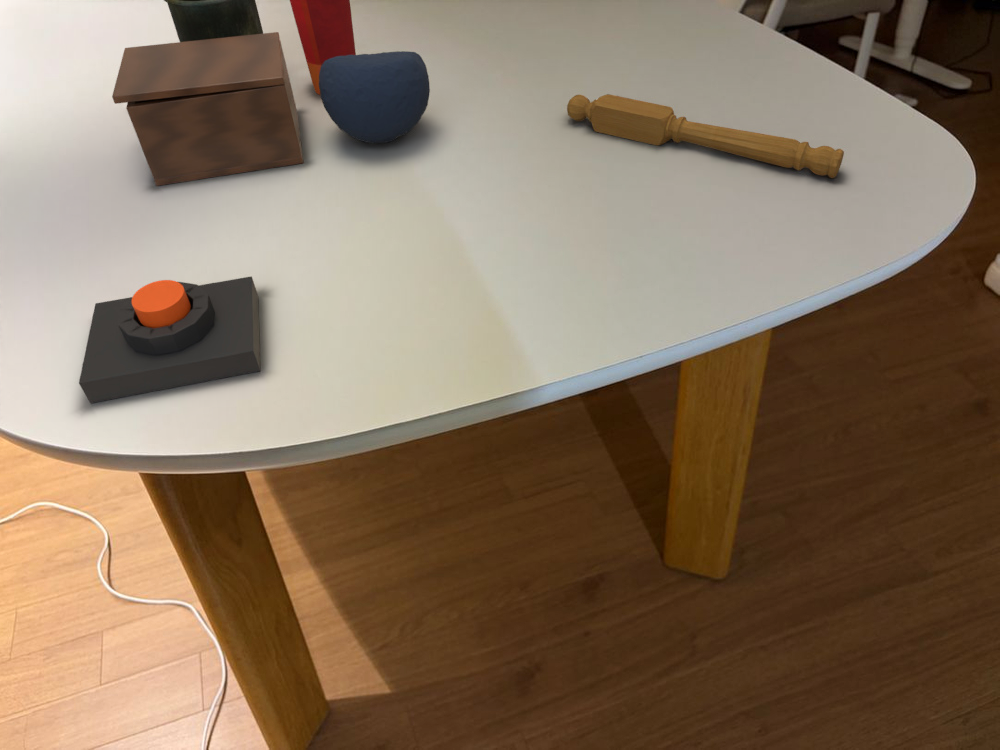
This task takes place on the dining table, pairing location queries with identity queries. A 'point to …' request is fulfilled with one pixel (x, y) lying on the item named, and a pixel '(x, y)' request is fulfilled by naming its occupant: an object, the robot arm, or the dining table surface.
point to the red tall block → (323, 32)
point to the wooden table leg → (698, 133)
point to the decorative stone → (375, 93)
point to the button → (161, 303)
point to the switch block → (173, 343)
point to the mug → (214, 18)
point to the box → (218, 132)
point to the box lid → (199, 67)
